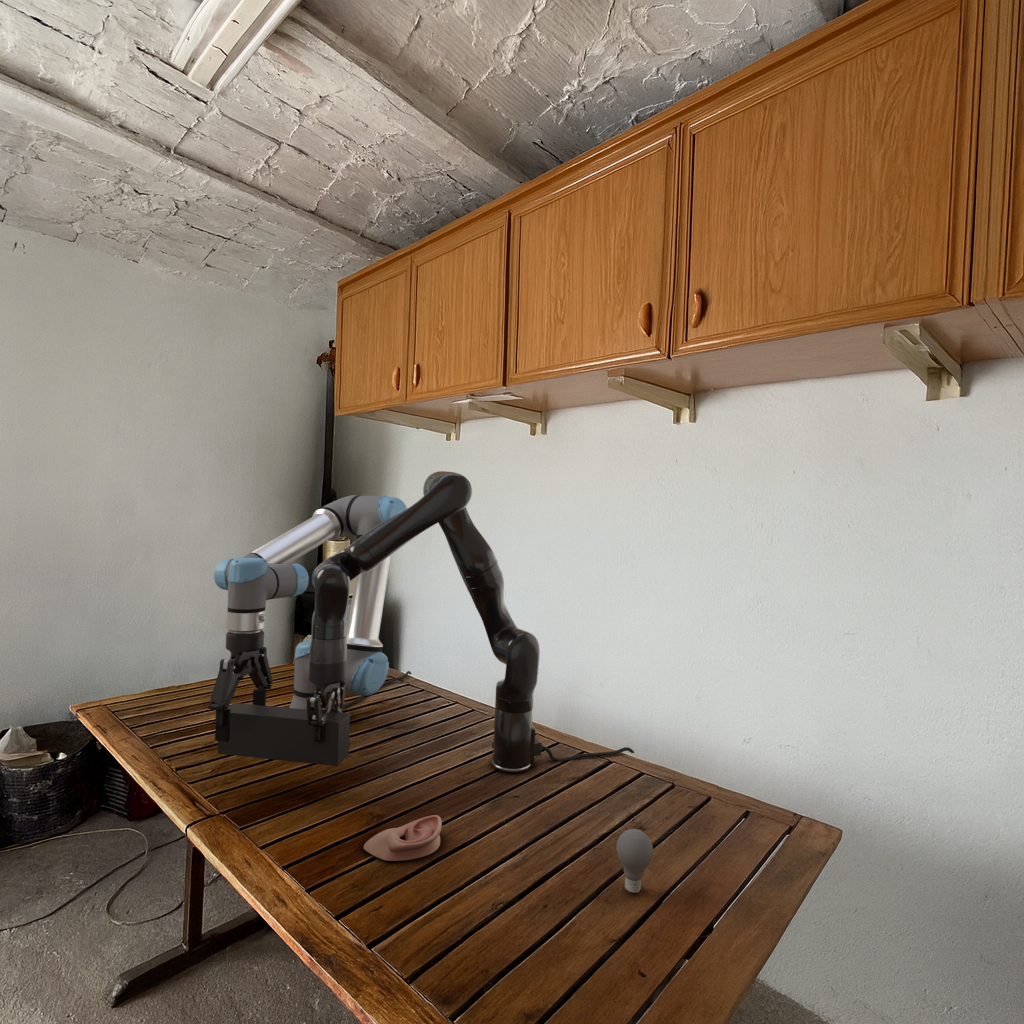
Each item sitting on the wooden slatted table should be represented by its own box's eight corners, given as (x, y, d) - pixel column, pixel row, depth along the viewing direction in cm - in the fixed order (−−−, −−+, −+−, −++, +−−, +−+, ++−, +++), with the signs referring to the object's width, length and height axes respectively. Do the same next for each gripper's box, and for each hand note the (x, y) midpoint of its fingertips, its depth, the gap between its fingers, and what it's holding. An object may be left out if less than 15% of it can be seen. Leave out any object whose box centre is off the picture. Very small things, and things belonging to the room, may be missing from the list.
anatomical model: (356, 833, 112) (382, 804, 123) (355, 856, 112) (381, 824, 123) (428, 845, 109) (448, 813, 121) (427, 868, 109) (447, 834, 121)
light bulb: (610, 879, 108) (613, 822, 108) (644, 879, 109) (647, 822, 109) (619, 902, 102) (622, 840, 102) (655, 901, 103) (658, 840, 103)
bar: (217, 753, 134) (218, 711, 133) (233, 743, 139) (234, 702, 139) (337, 766, 130) (338, 722, 129) (349, 755, 135) (350, 713, 135)
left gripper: (226, 644, 123) (222, 753, 123) (290, 621, 147) (286, 712, 147) (191, 640, 124) (186, 749, 124) (260, 619, 148) (256, 709, 149)
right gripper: (330, 668, 125) (327, 752, 125) (358, 651, 139) (356, 727, 140) (294, 665, 126) (292, 748, 127) (326, 648, 140) (324, 724, 141)
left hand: (241, 729), depth 136 cm, fingers open, 13 cm apart
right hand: (325, 737), depth 133 cm, fingers closed on bar, 6 cm apart
